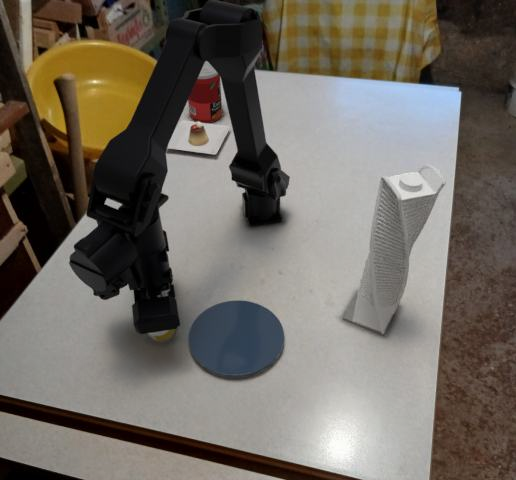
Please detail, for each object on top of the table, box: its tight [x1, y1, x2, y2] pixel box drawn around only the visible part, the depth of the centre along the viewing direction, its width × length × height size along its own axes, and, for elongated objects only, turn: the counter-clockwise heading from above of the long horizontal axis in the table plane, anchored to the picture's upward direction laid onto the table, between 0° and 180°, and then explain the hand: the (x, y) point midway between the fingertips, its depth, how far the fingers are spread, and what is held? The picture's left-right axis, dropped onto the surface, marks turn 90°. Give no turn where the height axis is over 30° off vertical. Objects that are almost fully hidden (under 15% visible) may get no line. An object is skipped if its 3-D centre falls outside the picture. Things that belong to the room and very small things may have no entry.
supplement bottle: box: [146, 329, 177, 342], centre depth 77 cm, size 5×5×8 cm
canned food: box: [187, 61, 223, 124], centre depth 118 cm, size 8×8×11 cm
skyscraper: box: [342, 163, 447, 336], centre depth 72 cm, size 8×8×28 cm
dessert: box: [167, 119, 231, 156], centre depth 114 cm, size 12×12×5 cm
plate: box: [187, 299, 285, 379], centre depth 80 cm, size 15×15×1 cm
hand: (160, 313), depth 82 cm, fingers closed
